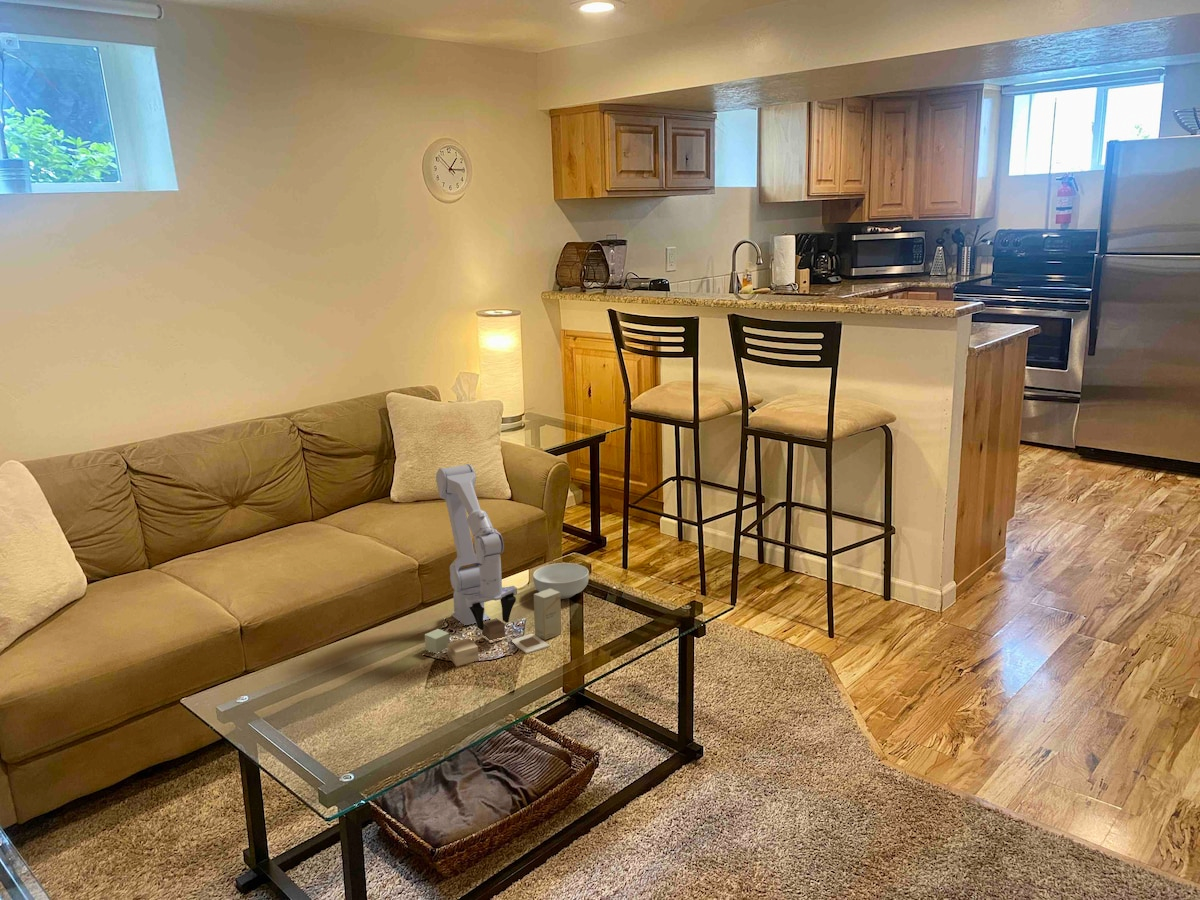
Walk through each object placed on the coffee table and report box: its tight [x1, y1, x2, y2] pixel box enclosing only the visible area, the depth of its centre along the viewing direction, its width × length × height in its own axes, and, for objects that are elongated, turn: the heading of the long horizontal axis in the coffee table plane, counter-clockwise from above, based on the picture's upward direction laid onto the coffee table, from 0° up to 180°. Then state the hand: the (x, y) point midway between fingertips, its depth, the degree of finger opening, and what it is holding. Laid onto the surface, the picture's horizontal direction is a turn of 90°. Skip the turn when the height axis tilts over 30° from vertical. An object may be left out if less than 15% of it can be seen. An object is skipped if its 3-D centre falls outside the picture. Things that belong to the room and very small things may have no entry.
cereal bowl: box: [532, 562, 590, 600], centre depth 268 cm, size 17×17×7 cm
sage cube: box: [424, 628, 451, 655], centre depth 233 cm, size 4×4×4 cm
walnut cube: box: [481, 618, 506, 640], centre depth 239 cm, size 4×4×4 cm
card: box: [511, 633, 551, 655], centre depth 236 cm, size 9×7×1 cm
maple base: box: [447, 637, 480, 667], centre depth 228 cm, size 6×6×4 cm
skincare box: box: [533, 588, 562, 641], centre depth 240 cm, size 6×4×12 cm
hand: (493, 625), depth 239 cm, fingers open, 7 cm apart
